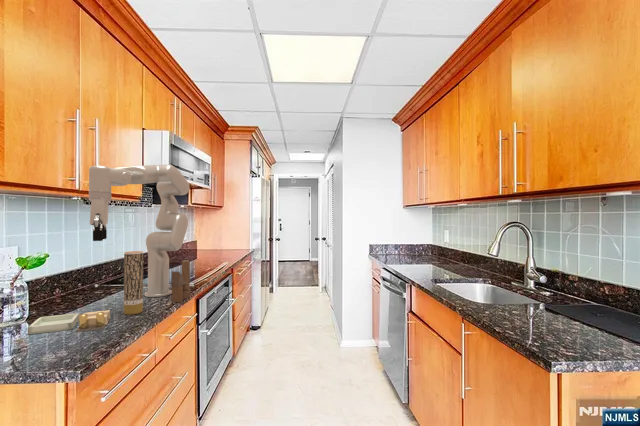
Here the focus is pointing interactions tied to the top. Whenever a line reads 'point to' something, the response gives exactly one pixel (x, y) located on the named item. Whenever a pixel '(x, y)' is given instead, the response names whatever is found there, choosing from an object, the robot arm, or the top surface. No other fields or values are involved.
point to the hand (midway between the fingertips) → (99, 239)
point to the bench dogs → (98, 326)
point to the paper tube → (133, 282)
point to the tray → (53, 323)
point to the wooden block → (181, 283)
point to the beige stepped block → (92, 317)
